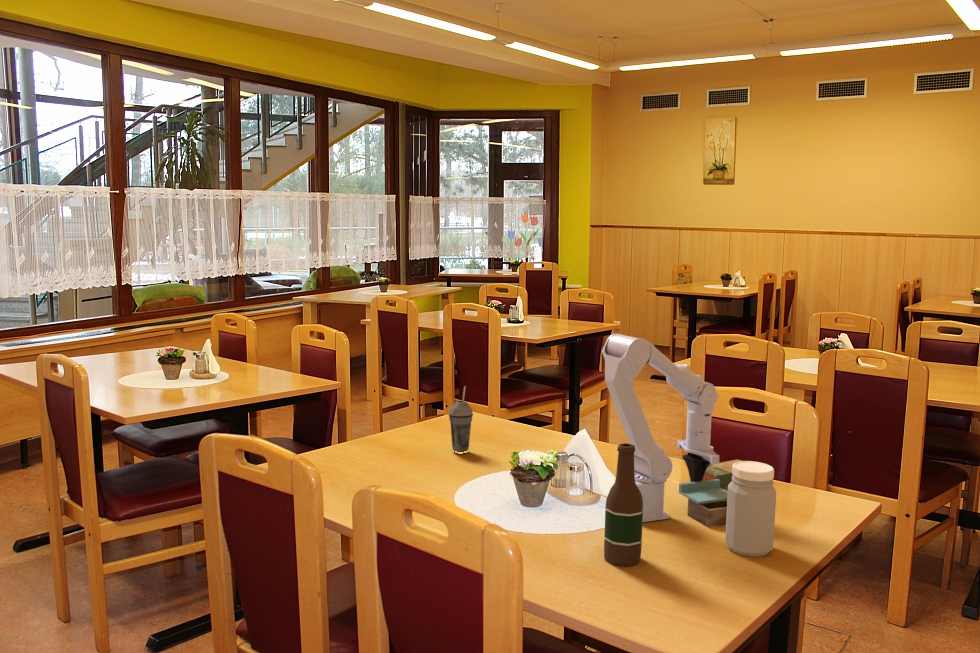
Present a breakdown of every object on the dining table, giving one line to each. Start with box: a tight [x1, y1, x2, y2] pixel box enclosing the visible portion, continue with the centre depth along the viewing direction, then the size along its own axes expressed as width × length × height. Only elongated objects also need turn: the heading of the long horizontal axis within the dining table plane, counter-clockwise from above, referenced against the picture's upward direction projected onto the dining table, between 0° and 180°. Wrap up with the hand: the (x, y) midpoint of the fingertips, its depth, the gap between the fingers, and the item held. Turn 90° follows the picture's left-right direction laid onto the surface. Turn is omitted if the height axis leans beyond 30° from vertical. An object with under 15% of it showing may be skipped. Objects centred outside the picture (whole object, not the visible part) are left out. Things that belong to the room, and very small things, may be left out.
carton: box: [702, 459, 742, 489], centre depth 212 cm, size 8×16×4 cm, turn 118°
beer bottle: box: [603, 442, 643, 568], centre depth 159 cm, size 8×8×24 cm
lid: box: [678, 479, 728, 504], centre depth 187 cm, size 11×8×2 cm
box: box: [687, 498, 727, 528], centre depth 184 cm, size 11×8×4 cm
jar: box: [725, 460, 777, 558], centre depth 165 cm, size 10×10×18 cm
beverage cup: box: [448, 385, 474, 452], centre depth 234 cm, size 7×7×20 cm
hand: (696, 484), depth 191 cm, fingers closed
